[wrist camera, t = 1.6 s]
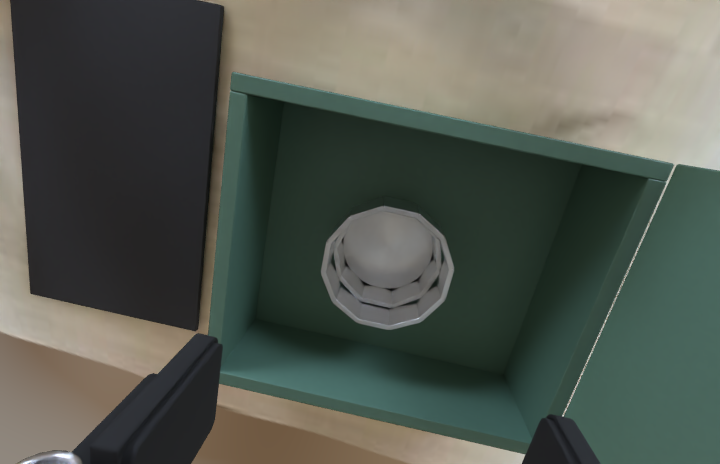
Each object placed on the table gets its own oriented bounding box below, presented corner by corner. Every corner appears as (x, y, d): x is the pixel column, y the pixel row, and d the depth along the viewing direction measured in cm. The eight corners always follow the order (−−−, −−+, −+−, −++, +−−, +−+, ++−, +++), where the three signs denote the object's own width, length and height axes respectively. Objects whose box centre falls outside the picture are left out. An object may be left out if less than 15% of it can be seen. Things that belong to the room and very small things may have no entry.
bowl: (345, 182, 23) (334, 195, 19) (454, 205, 23) (468, 223, 19) (326, 282, 25) (313, 313, 21) (426, 304, 25) (433, 340, 21)
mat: (13, -36, 22) (7, -39, 22) (224, 6, 22) (221, 5, 22) (35, 291, 29) (30, 294, 28) (198, 328, 28) (195, 331, 28)
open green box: (247, 320, 28) (203, 380, 21) (277, 85, 23) (231, 71, 16) (507, 378, 27) (543, 458, 21) (593, 152, 22) (675, 164, 16)
